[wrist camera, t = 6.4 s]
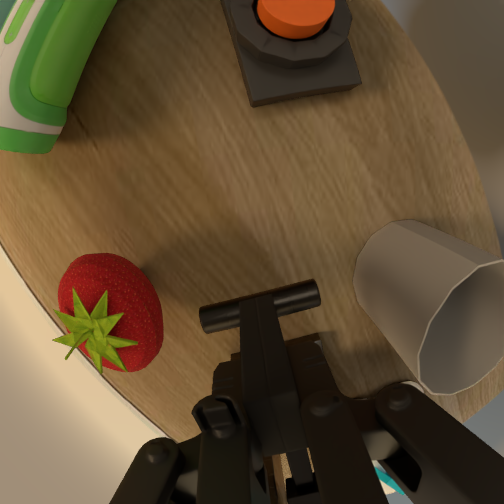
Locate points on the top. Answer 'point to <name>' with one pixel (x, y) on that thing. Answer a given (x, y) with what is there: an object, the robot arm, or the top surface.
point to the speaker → (43, 67)
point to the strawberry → (110, 312)
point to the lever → (286, 302)
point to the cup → (434, 303)
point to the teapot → (5, 10)
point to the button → (295, 16)
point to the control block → (291, 56)
